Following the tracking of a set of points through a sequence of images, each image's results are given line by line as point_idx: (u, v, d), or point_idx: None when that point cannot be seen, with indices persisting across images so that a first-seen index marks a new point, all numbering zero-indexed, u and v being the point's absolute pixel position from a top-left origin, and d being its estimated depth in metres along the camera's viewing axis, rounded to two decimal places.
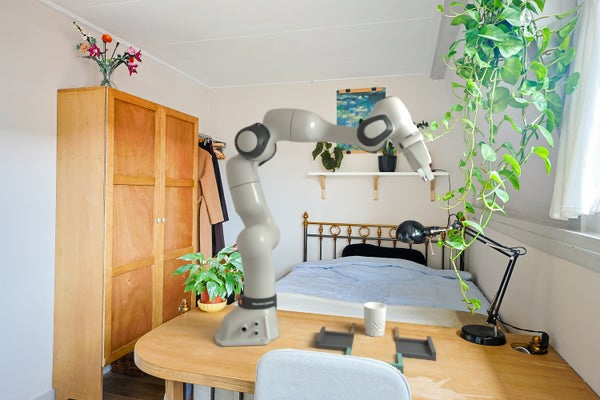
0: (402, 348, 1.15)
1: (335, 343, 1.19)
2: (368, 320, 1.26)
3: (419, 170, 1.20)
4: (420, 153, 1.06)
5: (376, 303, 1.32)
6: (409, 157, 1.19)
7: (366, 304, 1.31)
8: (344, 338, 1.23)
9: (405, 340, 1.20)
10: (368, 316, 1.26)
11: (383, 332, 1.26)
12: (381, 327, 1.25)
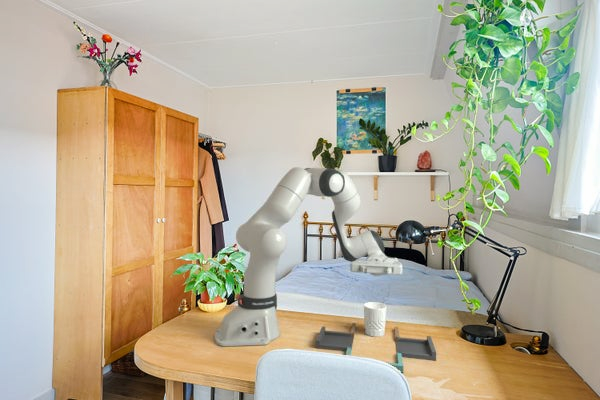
0: (402, 348, 1.15)
1: (335, 343, 1.19)
2: (368, 320, 1.26)
3: (364, 267, 1.42)
4: None
5: (376, 303, 1.32)
6: (369, 262, 1.47)
7: (366, 304, 1.31)
8: (344, 338, 1.23)
9: (405, 340, 1.20)
10: (368, 316, 1.26)
11: (383, 332, 1.26)
12: (381, 327, 1.25)
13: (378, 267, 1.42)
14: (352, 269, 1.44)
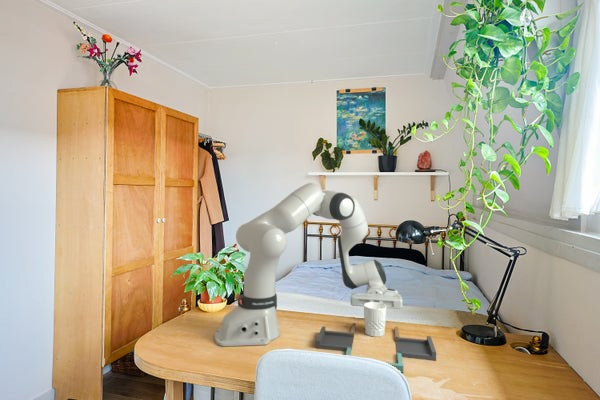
0: (402, 348, 1.15)
1: (335, 343, 1.19)
2: (368, 320, 1.26)
3: None
4: None
5: (376, 303, 1.32)
6: None
7: (366, 304, 1.31)
8: (344, 338, 1.23)
9: (405, 340, 1.20)
10: (368, 316, 1.26)
11: (383, 332, 1.26)
12: (381, 327, 1.25)
13: None
14: (352, 303, 1.44)
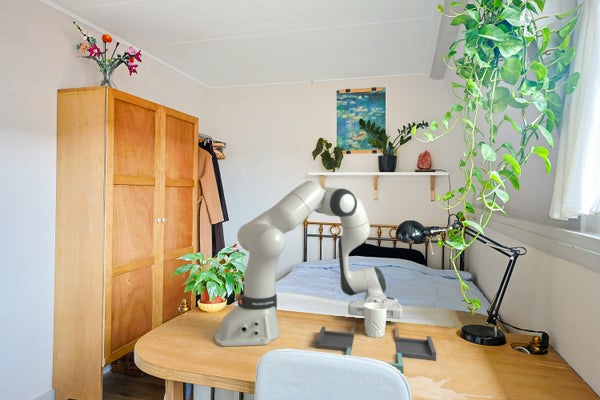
0: (402, 348, 1.15)
1: (335, 343, 1.19)
2: (368, 321, 1.25)
3: None
4: None
5: (376, 303, 1.31)
6: None
7: (366, 305, 1.30)
8: (344, 338, 1.23)
9: (405, 340, 1.20)
10: (369, 317, 1.25)
11: (383, 333, 1.26)
12: (381, 328, 1.25)
13: None
14: (350, 312, 1.38)
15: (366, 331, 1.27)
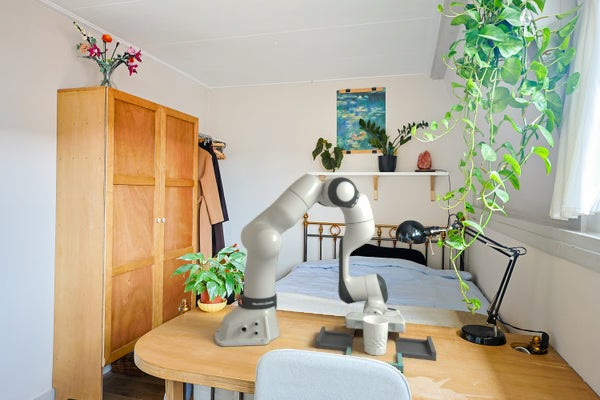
0: (402, 348, 1.15)
1: (335, 343, 1.19)
2: (368, 337, 1.11)
3: None
4: None
5: (376, 316, 1.17)
6: (367, 315, 1.27)
7: (365, 318, 1.16)
8: (344, 338, 1.23)
9: (405, 340, 1.20)
10: (369, 332, 1.11)
11: (385, 350, 1.12)
12: (383, 344, 1.11)
13: None
14: (347, 325, 1.24)
15: (365, 348, 1.13)
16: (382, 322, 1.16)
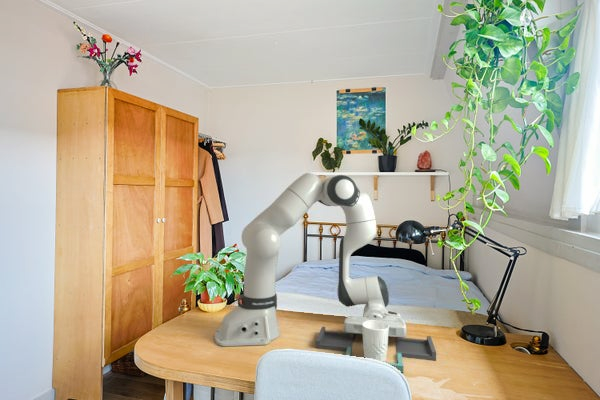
0: (402, 348, 1.15)
1: (335, 343, 1.19)
2: (368, 343, 1.07)
3: None
4: None
5: (376, 322, 1.13)
6: (366, 319, 1.23)
7: (365, 323, 1.12)
8: (344, 338, 1.23)
9: (405, 340, 1.20)
10: (368, 338, 1.07)
11: (385, 357, 1.07)
12: (383, 351, 1.06)
13: None
14: (346, 329, 1.20)
15: (365, 355, 1.08)
16: (382, 327, 1.12)
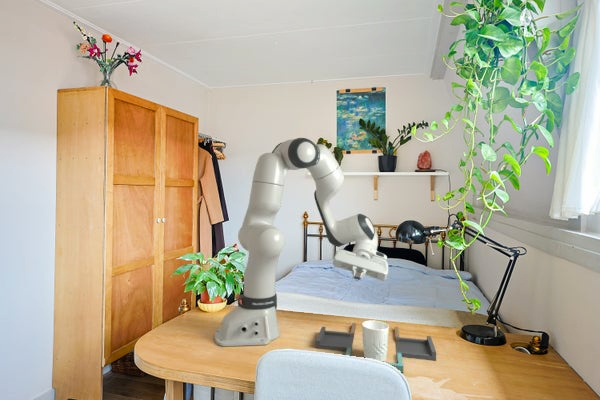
0: (402, 348, 1.15)
1: (335, 343, 1.19)
2: (368, 343, 1.07)
3: (356, 269, 1.32)
4: None
5: (376, 322, 1.13)
6: (355, 257, 1.36)
7: (365, 323, 1.12)
8: (344, 338, 1.23)
9: (405, 340, 1.20)
10: (368, 338, 1.07)
11: (385, 357, 1.07)
12: (383, 351, 1.06)
13: None
14: (334, 264, 1.34)
15: (365, 355, 1.08)
16: (382, 327, 1.12)
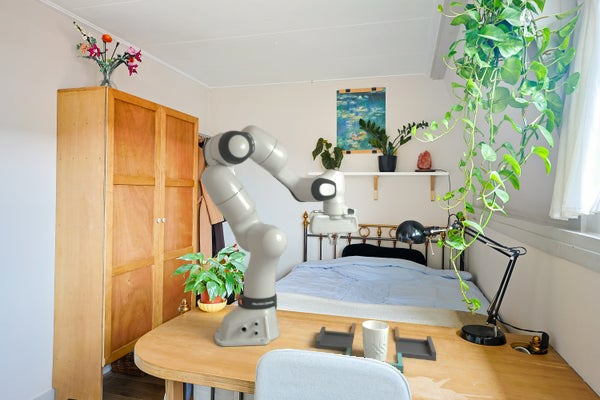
0: (402, 348, 1.15)
1: (335, 343, 1.19)
2: (368, 343, 1.07)
3: None
4: None
5: (376, 322, 1.13)
6: (329, 221, 1.43)
7: (365, 323, 1.12)
8: (344, 338, 1.23)
9: (405, 340, 1.20)
10: (368, 338, 1.07)
11: (385, 357, 1.07)
12: (383, 351, 1.06)
13: None
14: None
15: (365, 355, 1.08)
16: (382, 327, 1.12)
